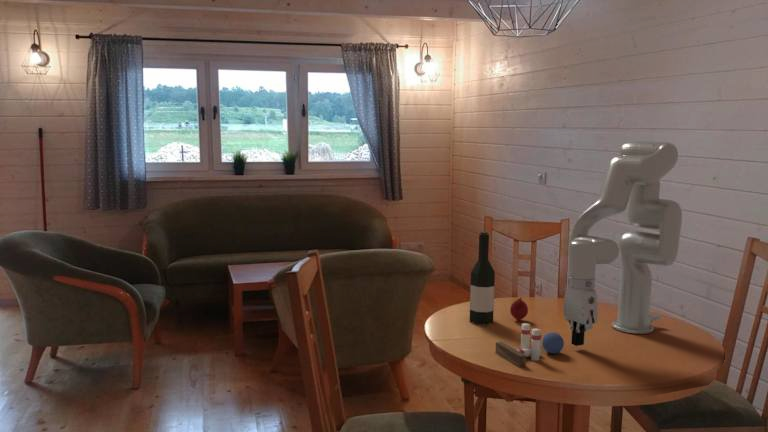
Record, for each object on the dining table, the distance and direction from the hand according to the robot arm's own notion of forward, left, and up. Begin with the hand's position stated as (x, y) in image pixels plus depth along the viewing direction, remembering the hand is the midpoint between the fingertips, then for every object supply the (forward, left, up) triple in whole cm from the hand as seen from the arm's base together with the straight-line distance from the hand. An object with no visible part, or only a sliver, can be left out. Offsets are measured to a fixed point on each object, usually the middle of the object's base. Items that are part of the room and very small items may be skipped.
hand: (577, 344), depth 189 cm
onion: (0, -30, -2) cm, 30 cm away
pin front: (+13, 0, 0) cm, 13 cm away
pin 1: (+16, -2, -2) cm, 17 cm away
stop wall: (+23, 0, -2) cm, 23 cm away
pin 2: (+16, +3, -2) cm, 17 cm away
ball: (+9, 0, +2) cm, 9 cm away
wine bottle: (+12, -34, -2) cm, 36 cm away
